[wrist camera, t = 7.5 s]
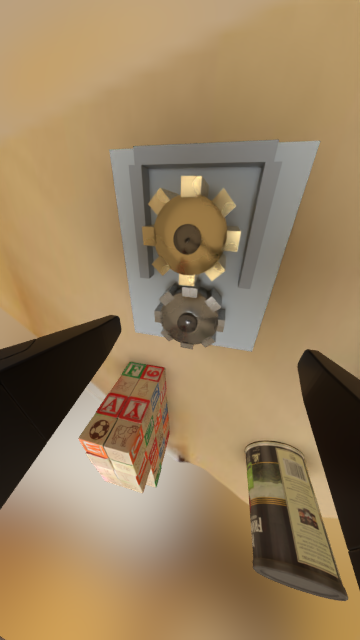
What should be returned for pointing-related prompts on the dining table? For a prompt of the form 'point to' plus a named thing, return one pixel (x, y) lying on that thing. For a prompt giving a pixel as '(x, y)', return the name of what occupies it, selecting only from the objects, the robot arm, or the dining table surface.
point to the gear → (190, 314)
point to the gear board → (249, 215)
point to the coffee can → (289, 522)
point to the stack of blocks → (130, 429)
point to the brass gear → (191, 231)
